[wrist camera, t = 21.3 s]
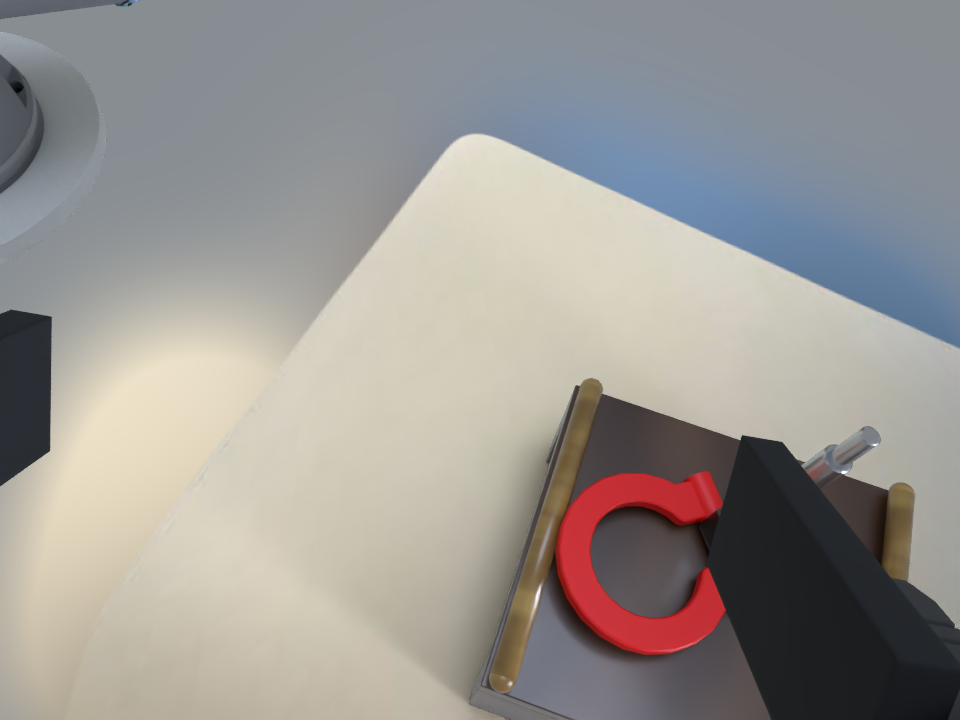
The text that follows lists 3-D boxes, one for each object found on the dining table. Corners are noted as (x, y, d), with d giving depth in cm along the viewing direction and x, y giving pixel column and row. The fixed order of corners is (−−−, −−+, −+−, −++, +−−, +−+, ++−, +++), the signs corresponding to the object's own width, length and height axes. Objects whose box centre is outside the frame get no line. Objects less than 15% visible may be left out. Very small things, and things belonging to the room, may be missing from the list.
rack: (467, 706, 43) (482, 683, 35) (553, 440, 51) (581, 370, 43) (799, 831, 42) (897, 839, 33) (836, 538, 49) (924, 485, 41)
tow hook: (588, 679, 36) (766, 625, 39) (714, 610, 25) (951, 543, 28) (529, 500, 40) (696, 463, 42) (617, 371, 29) (835, 332, 31)
